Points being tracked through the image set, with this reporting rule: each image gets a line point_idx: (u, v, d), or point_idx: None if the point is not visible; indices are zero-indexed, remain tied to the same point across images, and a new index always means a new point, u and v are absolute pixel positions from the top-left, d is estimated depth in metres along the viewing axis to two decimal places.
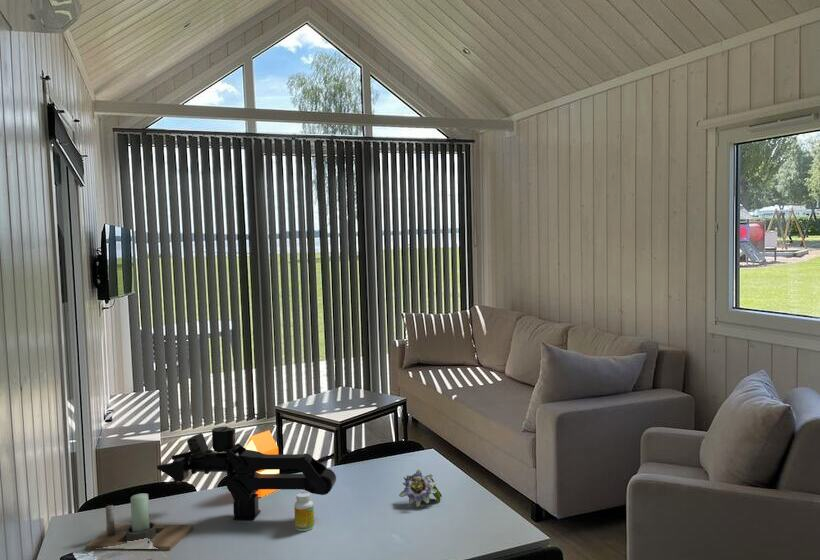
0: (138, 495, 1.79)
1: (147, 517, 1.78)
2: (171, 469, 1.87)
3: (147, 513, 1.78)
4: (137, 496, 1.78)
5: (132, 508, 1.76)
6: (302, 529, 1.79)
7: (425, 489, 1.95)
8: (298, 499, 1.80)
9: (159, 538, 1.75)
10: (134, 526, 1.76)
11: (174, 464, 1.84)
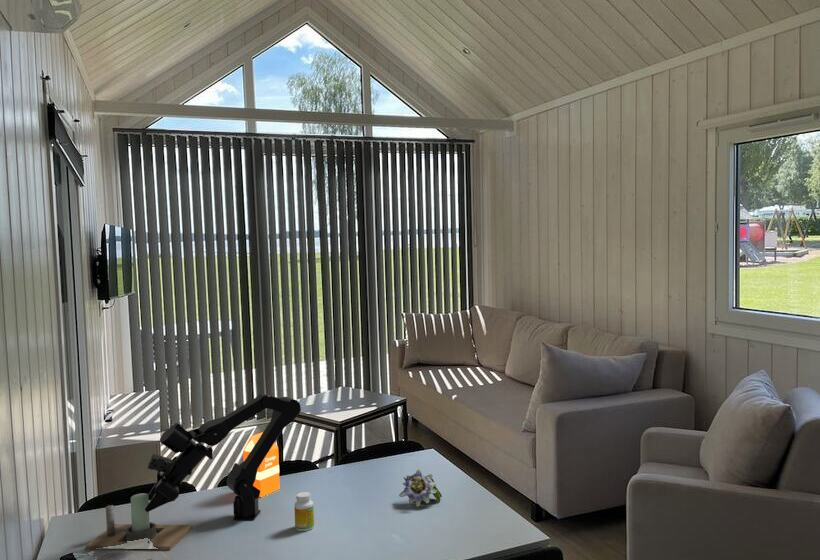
0: (138, 495, 1.79)
1: (147, 517, 1.78)
2: (159, 498, 1.74)
3: (147, 513, 1.78)
4: (137, 496, 1.78)
5: (132, 508, 1.76)
6: (302, 529, 1.79)
7: (425, 489, 1.95)
8: (298, 499, 1.80)
9: (159, 538, 1.75)
10: (134, 526, 1.76)
11: (159, 489, 1.71)
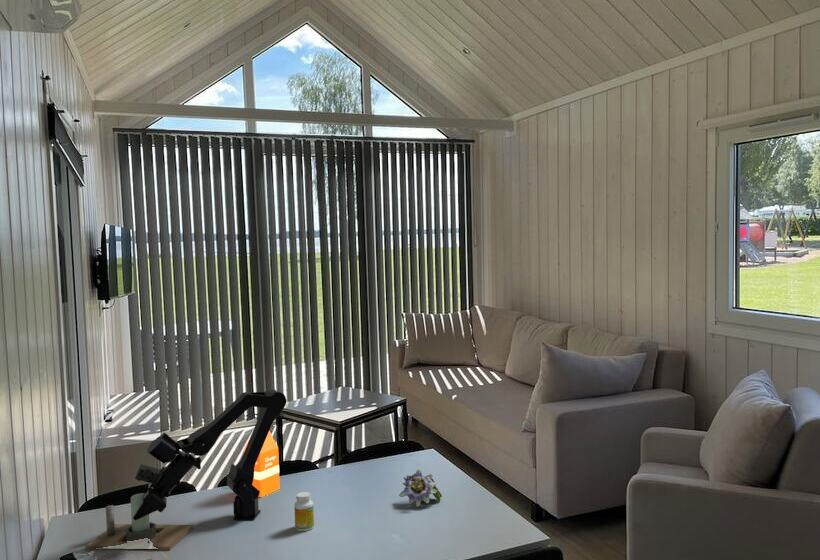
0: (138, 495, 1.79)
1: (147, 517, 1.78)
2: (147, 507, 1.75)
3: None
4: (137, 495, 1.78)
5: (132, 508, 1.76)
6: (302, 529, 1.79)
7: (425, 489, 1.95)
8: (298, 499, 1.80)
9: (159, 538, 1.75)
10: (134, 526, 1.76)
11: (146, 500, 1.70)
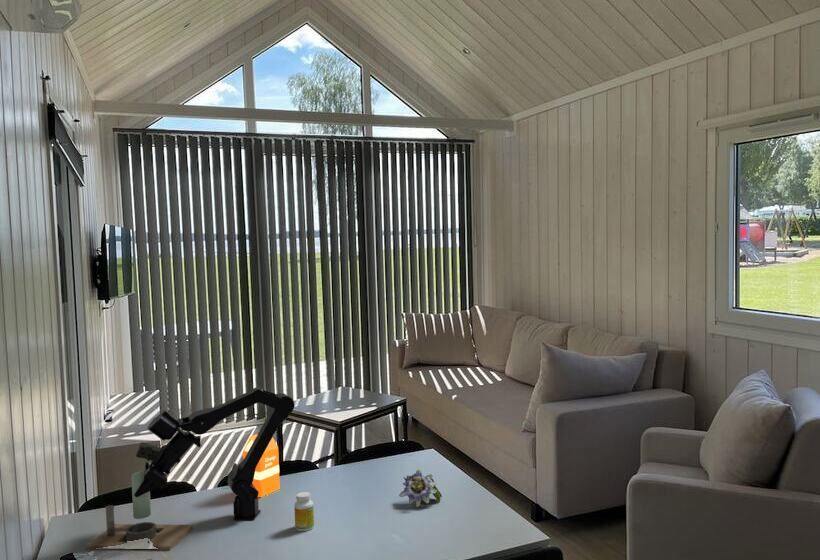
0: (139, 473, 1.80)
1: (148, 494, 1.79)
2: (148, 484, 1.77)
3: None
4: (138, 473, 1.80)
5: (133, 485, 1.78)
6: (302, 529, 1.79)
7: (425, 489, 1.95)
8: (298, 499, 1.80)
9: (159, 538, 1.75)
10: (135, 503, 1.78)
11: (147, 476, 1.72)
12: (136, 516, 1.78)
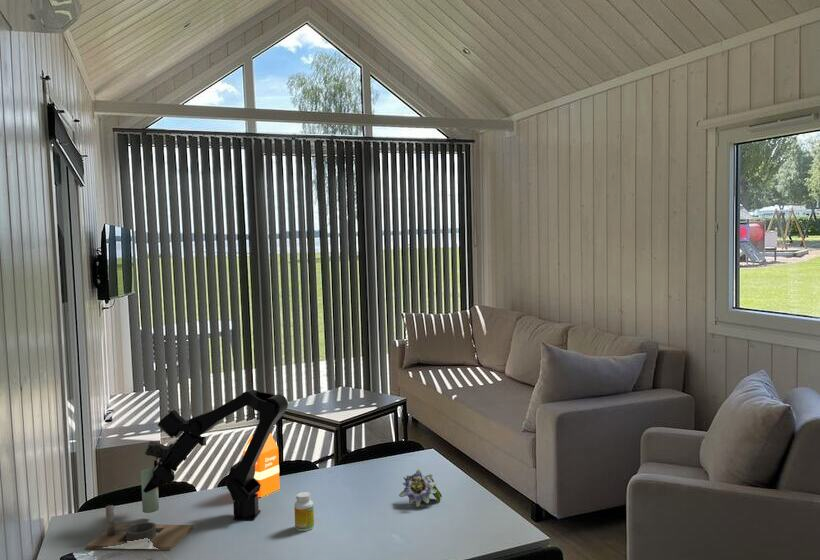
0: (148, 470, 1.92)
1: (156, 490, 1.91)
2: (157, 480, 1.89)
3: None
4: (147, 470, 1.91)
5: (142, 481, 1.89)
6: (302, 529, 1.79)
7: (425, 489, 1.95)
8: (298, 499, 1.80)
9: (159, 538, 1.75)
10: (144, 498, 1.89)
11: (155, 473, 1.83)
12: (145, 511, 1.89)
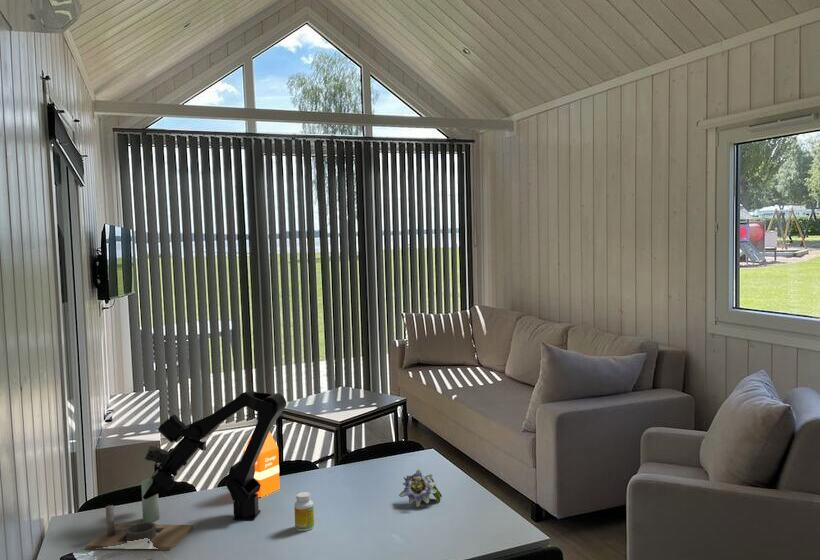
0: (148, 479, 1.92)
1: (156, 499, 1.91)
2: (156, 486, 1.87)
3: (156, 496, 1.91)
4: (147, 480, 1.92)
5: (143, 491, 1.89)
6: (302, 529, 1.79)
7: (425, 489, 1.95)
8: (298, 499, 1.80)
9: (159, 538, 1.75)
10: (144, 508, 1.89)
11: (156, 478, 1.83)
12: (145, 520, 1.89)
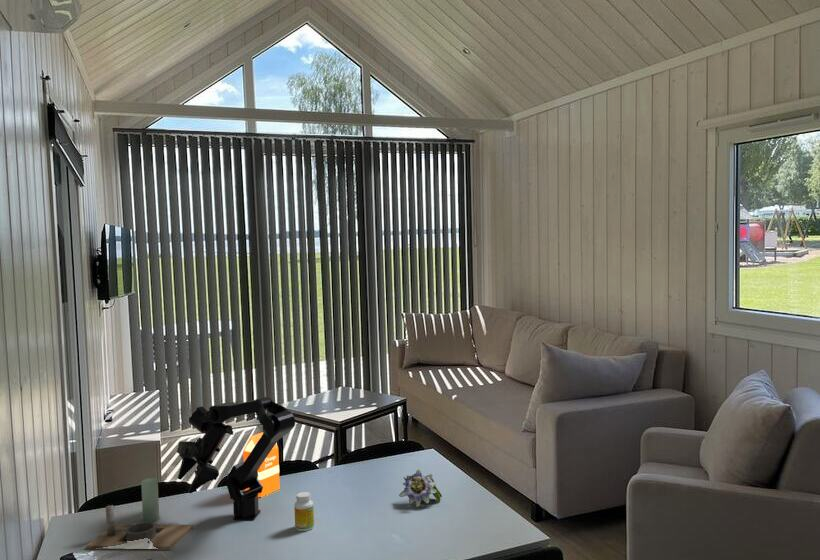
0: (148, 479, 1.92)
1: (156, 499, 1.91)
2: (200, 480, 1.91)
3: (156, 496, 1.91)
4: (147, 480, 1.92)
5: (143, 491, 1.89)
6: (302, 529, 1.79)
7: (425, 489, 1.95)
8: (298, 499, 1.80)
9: (159, 538, 1.75)
10: (144, 508, 1.89)
11: (202, 474, 1.87)
12: (145, 520, 1.89)
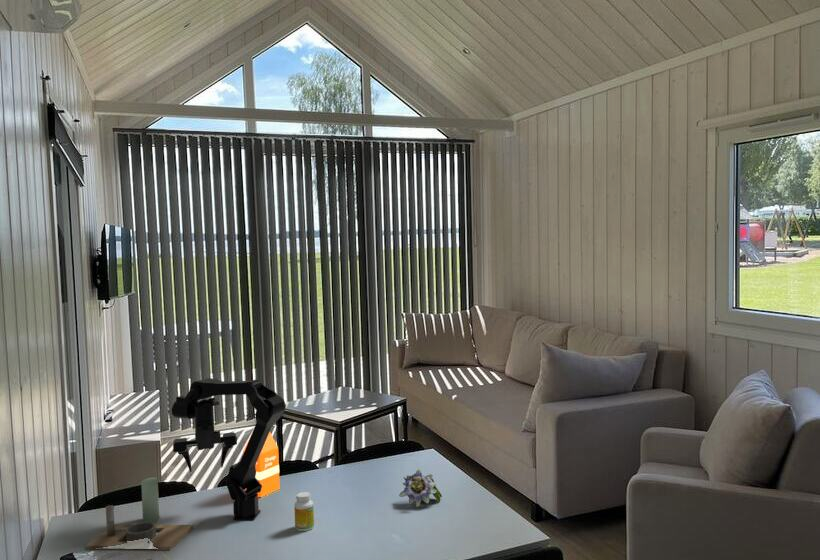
0: (148, 479, 1.92)
1: (156, 499, 1.91)
2: None
3: (156, 496, 1.91)
4: (147, 480, 1.92)
5: (143, 491, 1.89)
6: (302, 529, 1.79)
7: (425, 489, 1.95)
8: (298, 499, 1.80)
9: (159, 538, 1.75)
10: (144, 508, 1.89)
11: (236, 443, 1.97)
12: (145, 520, 1.89)
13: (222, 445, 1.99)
